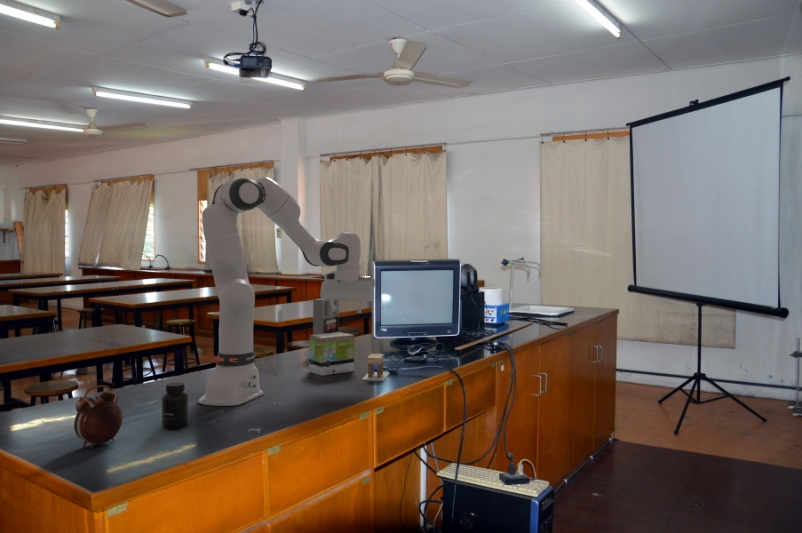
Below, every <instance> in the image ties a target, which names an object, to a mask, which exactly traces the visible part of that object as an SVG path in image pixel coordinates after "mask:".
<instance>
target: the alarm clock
mask: <svg viewBox="0 0 802 533" xmlns="http://www.w3.org/2000/svg"><path fill="white" fill-rule="evenodd" d="M102 387H103V388H106V389H107V390H106V391H104V392H102V393H101V394H100V395H99V396H95V399H94V398H93V397H90V396H88V394H89V392H90V391H92V390H95V389H98V388H102ZM118 400H119V396H118V394H117V393H116V392H115V390H114V388H111V387H110V386H108V384H107V385H106V384H101V385H95V386H93V387H91V388H89V389H87V391H85V394H84V396H83V397H81V396H80V397H79V400H77V402H75V403H76V404H75V410H76V414H75V416H74V421H73V422H74V423H73V427H74V428H73V429H74V431H75V435H76V436H77V437H78V438H79V439H81V440H82V441H84V443H83V446H82V448H83V449H85V447H86V445H87V444H88V443H89V444H91V446H90V449H93V446H94V445H95V444H96V445H102V444H105V443H108V442H109V441H111V440H112V442H115V441H116V439H114V438H115V436H116V435H117V434H118V433H119V431H120V429H121V427H122V423H123V411H122V410H121V409H122V408H120V406H119V405H118V404H117V403H118Z"/></svg>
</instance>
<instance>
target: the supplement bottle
mask: <svg viewBox="0 0 802 533" xmlns="http://www.w3.org/2000/svg"><path fill="white" fill-rule="evenodd" d="M165 392H166V393H164V394H163V395H162V397H161V428H162V429H164V430H166V431H178V430H183V429H185V428H187V427H188V424H189V395H188V393H187V392H185V383H184V382H179V381H177V382H175V381H174V382H168V383H166V384H165Z"/></svg>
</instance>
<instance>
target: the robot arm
mask: <svg viewBox="0 0 802 533" xmlns="http://www.w3.org/2000/svg"><path fill="white" fill-rule="evenodd" d="M256 208H258V210H261V211H262V213H263V214H264V215H265V216H266V217H267V218H268V219H269V220H271V222H273V224H275V225H276V226H278V227H279V228H280V229H281V230H283V232H284V233H285V234H286V235H287V236H288V237H289V238H290V239H291V240H292V242H293V243H294V244H295V245H296V246H298V248H299V249H300V252H301V253H302V255H303V258H304V260H305V261H306V262H307V264H308V265H310V266H312V267H329V268H330V267H336V270H334V271H331V272H327V273H324V275H323V278H324V280H323V281H322V283H321V287H320V293H319V296H320V299H321V298H322V299H330V301H329V302H330V304H331V306H332V311H333V312H336V311H337V307H335V306H334V304H333V302H334V300H339V301H355V302H357V301H358V302H359V304H360V306H359V307H356V313H357V314H362V308H363V307H364V305H365V304H366V302H372V301H373V300H375V291H374V289H375V287H376V281H375V279H374V278H372V277H371V276H364V275H363V276H361V265H360V260H361V254H362V253H361V251H362V247H361V246H362V245H361V239H360V237H359V235H358V234H356V233H353V232H346V231H342V232H340V233H338V234H337V235H336V236H334V237H332V238H328V239H327V240H323V239H322V240H320V239H318V238H315V237H314V236H312V234H310V233H309V231H307V229H306V228H305V227H304V226H303V225H302V223H301V222H300V220H299V219H300V218H301V213H302V212H301V207H300V204H299V203H298V202H297V200H296V199H295V198H294V197H293V196H292V195H291V194H290V193H289V192H288V191H287V190H286V189H285V188H284V187H283V186H281V185H280V184H279V183H278V182H277V181H275V180H273V179H271V178H270V177H266V176H263V177H260V178H257V179H256V180H253V179H252V178H246V177H242V178H237V179H231V180H229V181H226V182H225V183H222V184H220V185H219V186H218V187H217V188H216V189H215V191H214V194H213V198H212V203H211V204H210V205H208V206H207V207H205V208H204V209H203V211H202V214H201V218H202V220H201V221H202V223H201V224H202V230H203V231H202V232H203V237H204V240H205V246H206V249H207V253H208V259H209V262H210V266H211V270H212V271H211V272H212V276H213V280H214V284H215V285H214V286H215V288H216V289H215V290H216V294H217V298H218V300H219V322H218V323H219V324H218V353H217V355H216V356H213V359H212V362H213V363H215V364H216V366H215V367H214V370H213V371H212V372H211V375H210V376H209V379H208V380H207V381H206V383H205V384H206V386H205V393H204V394H203V395H201V397H200V398H199V399H198V401H197V403H198V404H201V405H206V406H223V407H225V406H227V407H228V406H229V407H230V406H239V405H241V404H245V403H247V402H249V401H251V400H253V399H256V398H258V397H261V396H263V395H264V391H263V390H261V387H260V376H259V369H258V368H257V366H256V365H255V356H256V354H255V350H254V320H255V306H256V305H255V303H256V301H255V300H256V299H255V298H256V294H255V290H254V287H253V286H252V285H251V284H250V280H249V275H248V271H247V269H248V268H247V265H246V264H247V263H246V257H245V254H244V250H243V244H242V240H241V237H240V236H241V235H240V232H239V227H238V221H237V219H238V215H239V214H243V213H245V212H247V211H250V210H253V209H256Z"/></svg>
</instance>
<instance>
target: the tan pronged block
mask: <svg viewBox="0 0 802 533" xmlns="http://www.w3.org/2000/svg"><path fill="white" fill-rule="evenodd" d="M384 355H385V354H382V353H370V354H369V355H368V356H367V362H366V363H367V373H368V377H372V374H374V372H375V365H376V367H377V368H376V372H377V378H380V377H381V375H382V374H383V372H384V360H385V359H384V358H385V357H384Z"/></svg>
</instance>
